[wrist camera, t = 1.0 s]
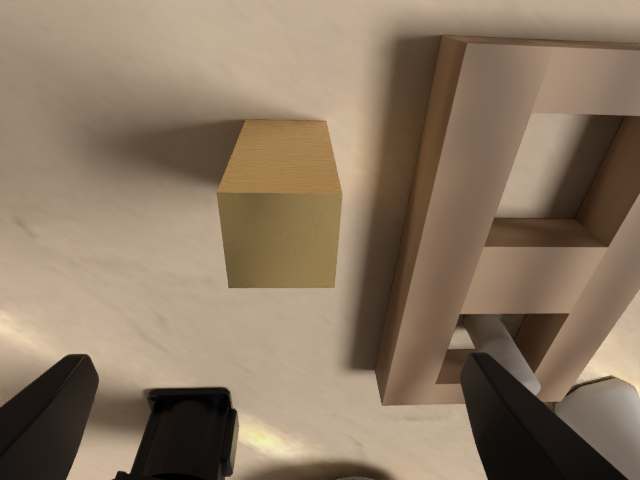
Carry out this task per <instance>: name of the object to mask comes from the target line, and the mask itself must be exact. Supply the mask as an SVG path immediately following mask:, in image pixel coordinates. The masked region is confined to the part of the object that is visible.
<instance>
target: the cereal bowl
mask: <svg viewBox="0 0 640 480" xmlns="http://www.w3.org/2000/svg"><path fill="white" fill-rule="evenodd" d="M335 480H375V479H372V478H368V477H358V476H353V477H344V478H339V479H335Z"/></svg>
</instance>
